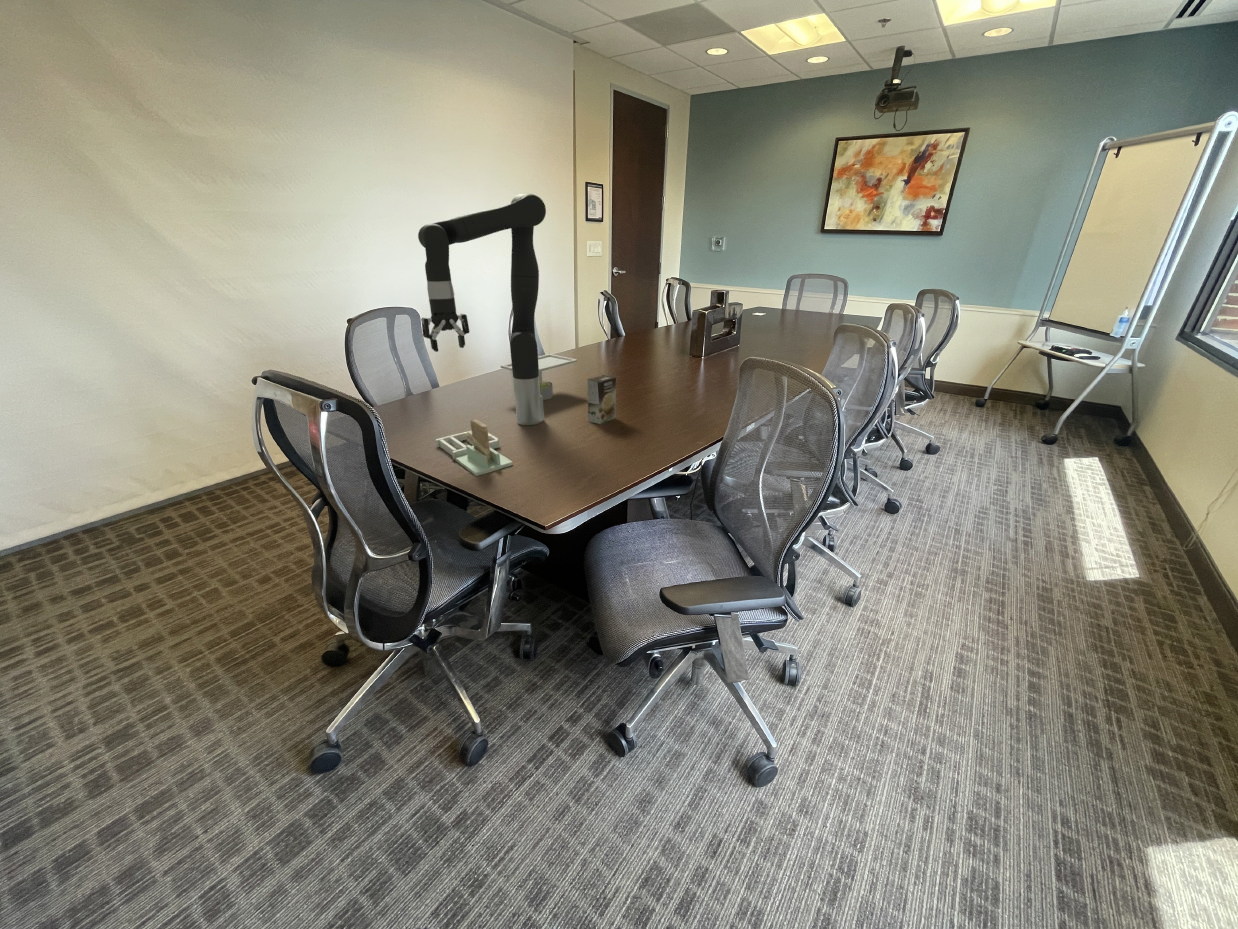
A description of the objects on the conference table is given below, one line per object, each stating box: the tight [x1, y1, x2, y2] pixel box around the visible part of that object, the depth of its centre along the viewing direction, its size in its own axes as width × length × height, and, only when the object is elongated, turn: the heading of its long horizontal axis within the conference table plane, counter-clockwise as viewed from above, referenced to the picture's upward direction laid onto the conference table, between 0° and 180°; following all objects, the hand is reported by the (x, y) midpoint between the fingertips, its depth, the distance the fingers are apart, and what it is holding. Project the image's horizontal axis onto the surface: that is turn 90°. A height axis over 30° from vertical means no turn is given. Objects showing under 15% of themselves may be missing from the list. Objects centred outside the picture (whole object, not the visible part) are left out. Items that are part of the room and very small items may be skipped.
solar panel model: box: [500, 353, 578, 401], centre depth 211 cm, size 28×17×15 cm, turn 141°
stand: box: [455, 444, 514, 477], centre depth 152 cm, size 12×14×4 cm
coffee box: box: [587, 374, 617, 425], centre depth 185 cm, size 9×6×16 cm
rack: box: [435, 429, 500, 461], centre depth 164 cm, size 16×14×2 cm
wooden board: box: [470, 418, 491, 464], centre depth 150 cm, size 2×8×12 cm, turn 40°
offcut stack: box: [466, 430, 492, 446], centre depth 166 cm, size 5×9×4 cm, turn 40°
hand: (449, 349), depth 160 cm, fingers open, 8 cm apart
